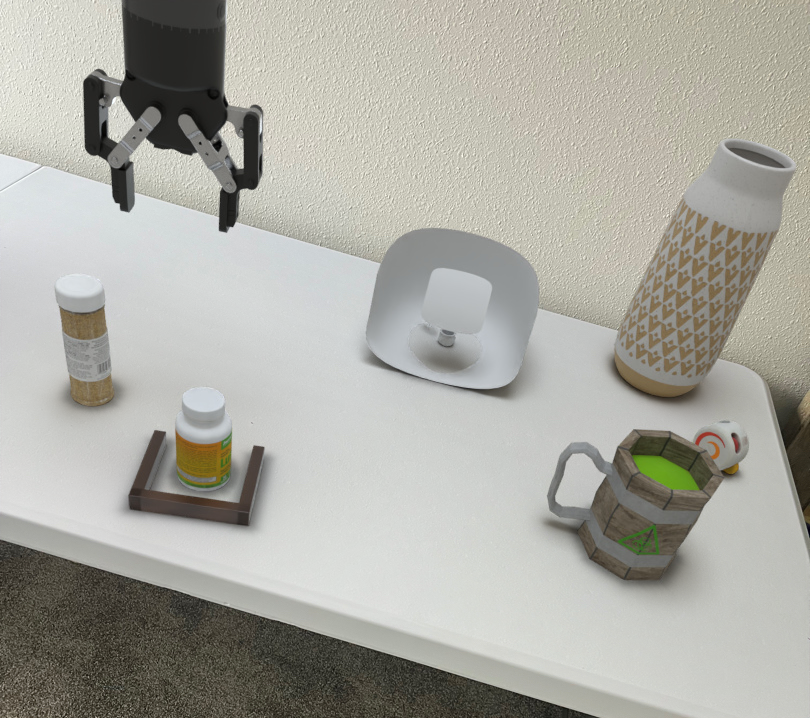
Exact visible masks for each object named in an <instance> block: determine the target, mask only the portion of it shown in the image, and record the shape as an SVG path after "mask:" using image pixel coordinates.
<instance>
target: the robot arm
mask: <svg viewBox="0 0 810 718" xmlns="http://www.w3.org/2000/svg"><path fill="white" fill-rule="evenodd" d="M227 15H228V0H121V19H122V20H121V21H122V39H123V40H122V42H123V61H124V62H123V63H124V77H123V80H121V79H119V78H114V77H111V76H109V75H108V74H107V72H106V71H105V70H103V69H101V68H95V69H94V70H93V71H91V72H90V73H89V74H88V75H87V77H85V78H84V79H83V81H82V90H83V91H82V94H83V95H82V96H83V97H82V99H83V100H82V101H83V133H84V135H83V137H84V140H83V141H84V149H85V151H86V152H87V154H88V155H90V156H92V157H96V156H98V157H99V158H101V159H103V160H104V161H105V162H107V164H108V165H109V168H110V181H111V195H112V200H113V202H114V203H115V204H117V205H118V204H119V210H120V212H125V213H131V211H132V210H133V208H134V207H135V203H136V192H135V191H136V190H135V171H134V167H135V166H134V161H131V160H130V158H131V156H132V154H134V152H135V151H136V150H137V149H138V147H139V146H140V145H141V144H142V143H143V142H144V140H145V139H146V140H147V141H148V142H149V143H150V144H152V145H153V148H154V149H159V150H162V151H163V150H174V151H176V152H177V153H180V154H182V155H185V156H189V157H192V156H193V155H195V154H198V156H199V157H200V158H201V160H202V162H203V163H204V165H205V166H206V168H207V169H208V170H209V171H211V172H212V173H213V175H214V176H215V178H216V180H217V181H218V183H219V184H220V186H221V188H220V190H219V206H218V208H219V209H218V232H219V233H220V232H222V233H225V234H228V232H229V230H230V228H234V227H235V225H236V223H237V221H238V218H239V215H240V214H239V213H240V196H241V191H242V190H247V189H248V190H250V191H254V190H256V189H257V188H258V186H259V184H260V182H261V179H262V177H263V173H264V110H263V108H262V107H261V106H260V105H259V104H255V103H254V104H251V105H250V106H249V107H242V106H237V105H230V104H229V102H228V100H227V97H226V93H225V78H226V77H225V74H226V48H227V47H226V44H227V43H226V42H227V21H228V19H227ZM117 97H119V98H120V100H121V102H122V104H123V106H124V107H125V109H126V110H127V112H128V113H129V115H130V116H131V118H132V120H133V121H134V124H133V125H131V127H130V128H129V130H127V132H126V133H125V135H124V136H123V137H122V138H121V139H120V140H119V142H117V141H115V140H113V139H112V138H110V137H109V133H110V132H109V108H110V107H111V106H113V104H114V103H115V102H116V99H117ZM227 122H229V123H231V124H232V126H233V127H234V131H235V134H236V136H237V137H238V138H240V139H242V141H243V143H242V144H243V147H242V148H243V153H242V154H243V167H242V168H238V165H237V164H236V162H235V160H234V159H233V157H232V156H231V154H230V150H229V147H228V145H227V143H226V142H225V139H224V138H223V136H222V135H221V133H220V131H221V130H222V129H223V127H224V126H225V125H226V123H227Z"/></svg>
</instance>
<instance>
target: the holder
mask: <svg viewBox="0 0 810 718" xmlns="http://www.w3.org/2000/svg"><path fill="white" fill-rule="evenodd" d="M167 442H168V441H167V432H166V431H165V430H160V429H159V430H158V429H154V431H153V433H152V434H151V438H150V441H149V443H148V446H147V448H146V451H145V452H144V455H143V458H142V460H141V462H140V466H139V468H138V470H137V472H136V475H135V477H134V480H133V483H132V485H131V488H130V490H129V493H128V495H127V497H128V506H129V507H128V509H129V510H133V511H139V512H146V513H153V514H161V515H168V516H173V517H174V516H175V517H181V518H188V519H196V520H203V521H209V522H217V523H223V524H224V523H225V524H231V525H238V526H243V527H244V526H245V527H249V526H250V521H251V517H252V513H253V509H254V505H255V499H256V496H257V492H258V488H259V483H260V479H261V474H262V471H263V466H264V461H265V450H266V448H265V446H262V445H257V444H254V445H253V446H252V449H251V454H250V457H249V461H248V466H247V470H246V474H245V478H244V482H243V485H242V490H241V492H240V493H241V494H240V498H239V502H237V501H236V502H235V501H228V500H221V499H215V498H208V497H201V496H193V495H187V494H180V493H174V492H173V493H172V492H168V491H167V492H166V491H160V490H152V489H151V488H152V485H153V483H154V480H155V478H156V475H157V472H158V469H159V467H160V465H161V462H162V459H163V456H164V453H165V452H166V449H167Z"/></svg>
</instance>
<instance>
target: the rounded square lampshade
mask: <svg viewBox="0 0 810 718" xmlns="http://www.w3.org/2000/svg"><path fill="white" fill-rule="evenodd" d="M373 287H374V288H373V292H372V298H371V302H370V304H371V305H370V309H369V314H368V318H367V321H366V322H367V323H366V328H365V340H366V344H367V346H368V348H369V349H370V352H372V353H373V354H374V355H375V356H376V357H377V358H378V359H379V360H381V361H382V362H384V363H385V364H387V365H389V366H391V367H393V368H395V369H397V370H400V371H402V372H404V373H407V374H409V375H413V376H415V377H419V378H423V379H425V380H429V381H433V382H436V383H441V384H445V385H450V386H455V387H461V388H468V389H477V390H490V389H498V388H501V387H505V386H507V385H509V384H510V383H512V381H514V379H515V378H517V375H518V374H519V372H520V370H521V367H522V364H523V361H524V357H525V354H526V351H527V348H528V345H529V341H530V339H531V335H532V332H533V329H534V325H535V322H536V319H537V317H538V310H539V304H540V283H539V279H538V275H537V272H536V271H535V268H534V267H533V265H532V264H531V263H530V261H529V260H528V259H527V258H526V257H524V255H523V254H521V253H520V252H518V251H517V250H515V249H514V248H512V247H511V246H508V245H505V244H504V243H502V242H499V241H498V240H494V239H491V238H489V237H486V236H482V235H479V234H476V233H473V232H468V231H465V230H464V231H463V230H459V229H452V228H443V227H442V228H441V227H424V228H418V229H414V230H411V231H408V232H406V233H404V234H402V235H401V236H399V237H398V238H396V240H395V241H394V242H393V243H392V244H391V245H390V246H389V247H388V249H387V250H386V252H385V254H384V256H383V258H382V260H381V262H380V264H379V267H378V270H377V273H376V276H375V283H374V286H373ZM421 324H425V327H427V329H428V330H430V329H431V328H432V327H433V328H437V329H439V330H440V332H439V333H438V338H437V339H438V342H439V344H440V345H441V346H444V347H449V346H452V345H453V344H454V343H455V340H456V335H457V334H460V335H461V334H463V335H473V336H474V337H475V338H476V339H477V340H478V342H479V344H480V355H479V357H478V359H477V360H476V361H475V362H474V364H471V365H470V366H468V367H466V368H463V369H461V370H457V371H452V372H448V373H447V372H446V373H445V372H436V371H435V370H432V369H430V368H428V367H427V366H426V365H425V364H424V363H423V362H421V360H419V358H418V357H417V356H416V355H415V353H414V352H413V351H412V349H411V347H410V343H409V341H410V339H409V338H410V335H411V332H412V331H413V330H414V329H415V328H416V327H418V325H421Z"/></svg>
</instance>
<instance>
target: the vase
mask: <svg viewBox="0 0 810 718" xmlns="http://www.w3.org/2000/svg"><path fill="white" fill-rule="evenodd" d="M715 149H716V150H715V152H714V154H713V156H712V158H711V160H710V163H709V165H708V166H707V168H706V170H704V171H703V172H702V173H701V174H700V175H699V176H698V177H697V179H695V180H694V181H693V182H692V183H691V184H690V185H689V187H688V188H687V189H686V190H685V191H684V192H683V193H684V194H683V195H682V197H681V198H680V201H679V203H678V205H677V206H676V209H675V211H674V212H673V214H672V217H671V219H670V220H669V222H668V225H667V226H666V228H665V231H664V232H663V234H662V236H661V239H660V240H659V243H658V245H657V246H656V249H655V251H654V253H653V255H652V257H651V260H650V261H649V264H648V265H647V268H646V270H645V272H644V273H643V276H642V278H641V279H640V282H639V284H638V286H637V288H636V290H635V292H634V295H633V296H632V299H631V301H630V303H629V305H628V307H627V309H626V311H625V313H624V316H623V318H622V320H621V323H620V325H619V328H618V331H617V333H616V336H615V337H616V338H615V341H614V347H613V351H614V353H613V354H614V363H615V366H616V369H617V372H618V373H619V374H620V376H621V377H622V379H624V381H626V382H627V383H628V384H629V385H630V386H632V387H633V388H635V389H637V390H639V391H641V392H643V393H645V394H648V395H652V396H656V397H659V398H660V397H661V398H675V397H679V396H681V395H684V394H687V393H689V392H690V391H692V390H693V389H695V388H697V387H698V386H699V385H700V384H701V383H702V382H703V381H704V380H705V379H706V377H707V376H708V375H709V374H710V372H711V370H712V369H713V368H714V366H715V364H716V362H717V361H718V359H719V357H720V355H721V354H722V352H723V350H724V348H725V346H726V344H727V341H728V339H729V337H730V335H731V333H732V331H733V328H734V326H735V324H736V323H737V320H738V319H739V316H740V314H741V313H742V310H743V308H744V305H745V303H746V301H747V299H748V297H749V295H750V293H751V291H752V289H753V286H754V285H755V282H756V280H757V278H758V276H759V274H760V272H761V270H762V267H763V265H764V263H765V261H766V259H767V257H768V254H769V253H770V250H771V248H772V245H773V243H774V241H775V239H776V237H777V235H778V232H779V230H780V228H781V224H782V219H783V218H782V217H783V202H784V195H785V193H786V191H787V188H788V186H789V185H790V183H791V180H792V179H793V176H794V174H795V172H796V170H797V164H796V162H795V161H794V160H793V159H792V158H791V157H790V156H788V155H787V154H786V153H784V152H782V151H781V150H778V149H775V148H773V147H771V146H769V145H766V144H764V143H760V142H757V141H752V140H748V139H744V138H735V137H734V138H732V137H731V138H724V139H722V140H721V141H719V143H718V146H717V147H716V148H715Z"/></svg>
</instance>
